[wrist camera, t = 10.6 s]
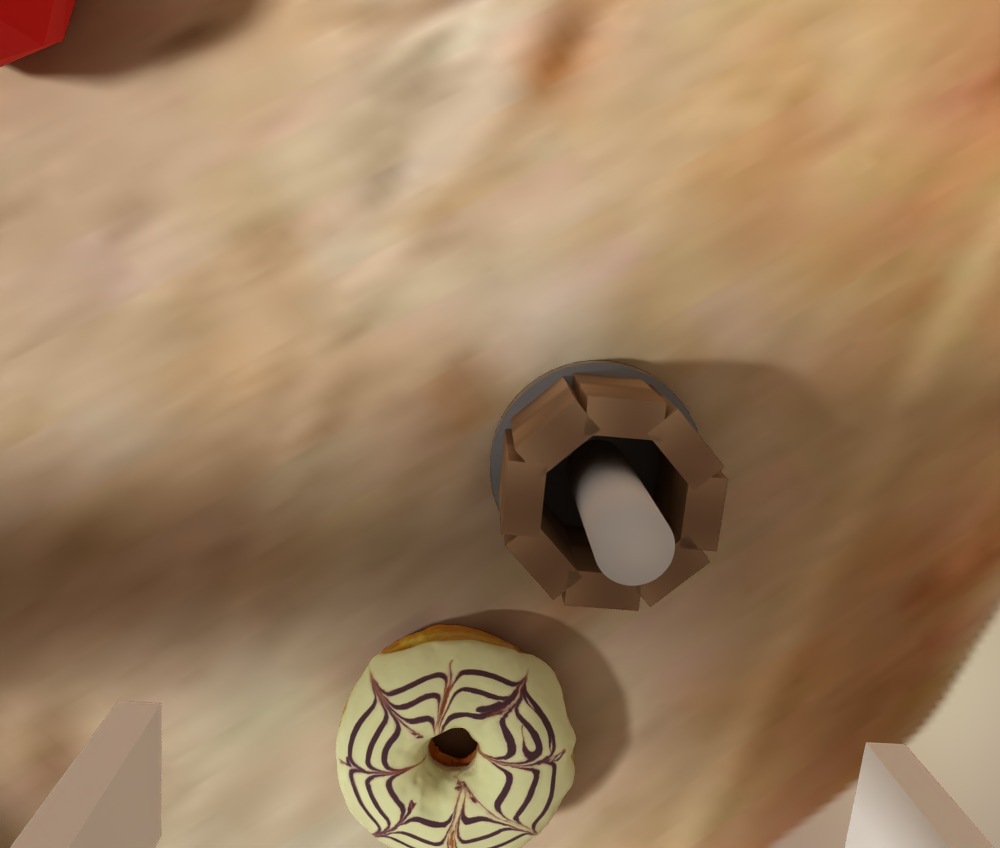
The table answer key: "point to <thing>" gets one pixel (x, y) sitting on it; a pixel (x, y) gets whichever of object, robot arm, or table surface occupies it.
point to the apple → (31, 26)
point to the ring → (566, 549)
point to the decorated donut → (440, 777)
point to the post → (605, 484)
